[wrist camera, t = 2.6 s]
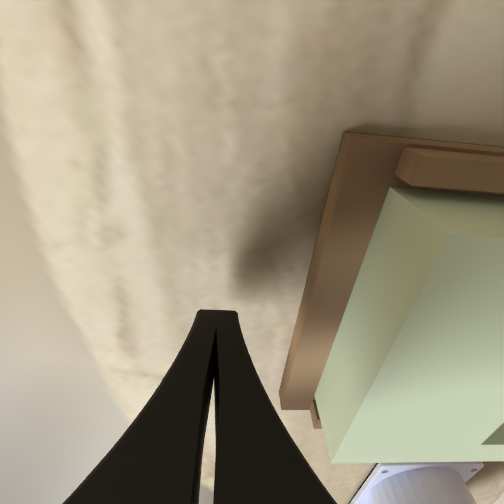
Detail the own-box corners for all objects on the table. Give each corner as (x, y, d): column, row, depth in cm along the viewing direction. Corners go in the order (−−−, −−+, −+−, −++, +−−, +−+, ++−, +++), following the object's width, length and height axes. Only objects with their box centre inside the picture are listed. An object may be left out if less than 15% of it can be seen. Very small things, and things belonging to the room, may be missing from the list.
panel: (477, 397, 16) (524, 460, 13) (314, 395, 15) (330, 463, 12) (643, 207, 10) (785, 256, 7) (389, 187, 9) (450, 234, 6)
